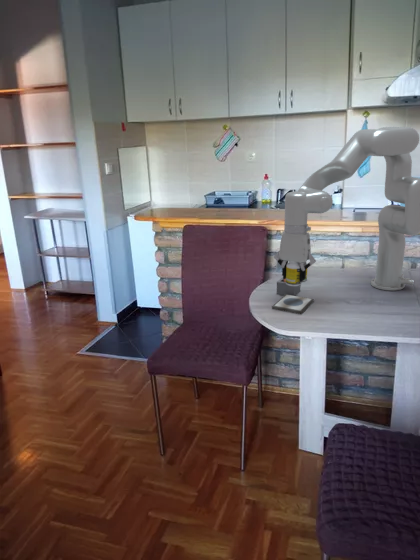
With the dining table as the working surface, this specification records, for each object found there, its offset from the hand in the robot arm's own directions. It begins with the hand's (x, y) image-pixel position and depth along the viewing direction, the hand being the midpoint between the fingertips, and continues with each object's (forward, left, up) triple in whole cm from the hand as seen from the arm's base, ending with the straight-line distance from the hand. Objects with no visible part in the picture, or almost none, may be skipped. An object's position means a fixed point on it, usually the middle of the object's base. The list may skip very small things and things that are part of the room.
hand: (293, 278), depth 159 cm
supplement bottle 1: (0, 0, -2) cm, 2 cm away
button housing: (+6, -11, -10) cm, 16 cm away
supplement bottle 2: (+7, -27, -10) cm, 30 cm away
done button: (+6, -11, -7) cm, 14 cm away
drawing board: (0, 0, -10) cm, 10 cm away
